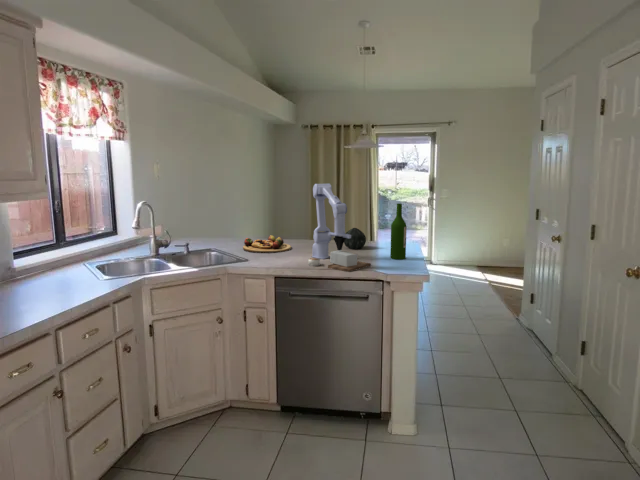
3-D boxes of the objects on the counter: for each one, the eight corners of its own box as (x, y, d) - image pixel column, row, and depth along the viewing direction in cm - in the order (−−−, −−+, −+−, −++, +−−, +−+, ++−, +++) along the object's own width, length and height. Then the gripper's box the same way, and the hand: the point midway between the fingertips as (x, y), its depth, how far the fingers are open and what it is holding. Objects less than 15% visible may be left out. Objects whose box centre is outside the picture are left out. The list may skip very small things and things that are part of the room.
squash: (356, 237, 314) (347, 222, 306) (373, 240, 304) (363, 225, 295) (345, 252, 309) (335, 238, 300) (361, 256, 298) (352, 241, 290)
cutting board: (328, 268, 244) (328, 265, 244) (350, 262, 259) (350, 259, 258) (348, 271, 235) (348, 269, 235) (370, 265, 250) (370, 262, 249)
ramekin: (305, 265, 251) (305, 258, 251) (313, 263, 256) (313, 257, 256) (314, 266, 247) (314, 260, 247) (322, 264, 252) (322, 258, 251)
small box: (329, 262, 249) (346, 267, 240) (330, 251, 248) (347, 255, 239) (340, 261, 255) (357, 265, 245) (340, 249, 254) (357, 253, 244)
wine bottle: (405, 260, 264) (407, 204, 259) (390, 259, 266) (391, 204, 261) (405, 257, 273) (407, 203, 268) (390, 256, 274) (391, 202, 269)
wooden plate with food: (234, 252, 292) (233, 239, 290) (255, 243, 322) (255, 232, 320) (280, 256, 282) (280, 243, 281) (298, 247, 312) (298, 235, 311)
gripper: (324, 225, 249) (324, 249, 252) (345, 227, 240) (345, 252, 242) (333, 224, 255) (332, 247, 257) (353, 226, 245) (353, 250, 248)
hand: (339, 250), depth 250 cm, fingers closed
